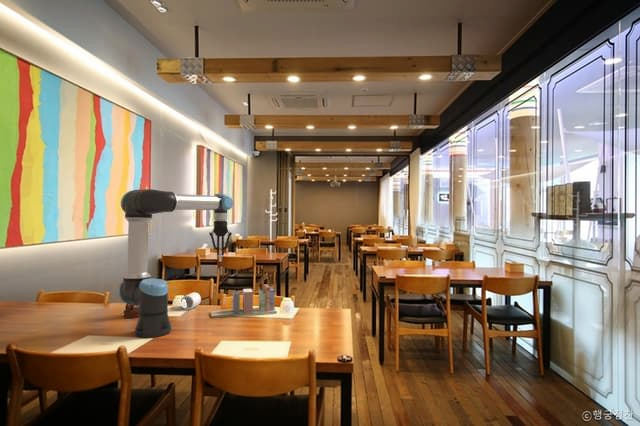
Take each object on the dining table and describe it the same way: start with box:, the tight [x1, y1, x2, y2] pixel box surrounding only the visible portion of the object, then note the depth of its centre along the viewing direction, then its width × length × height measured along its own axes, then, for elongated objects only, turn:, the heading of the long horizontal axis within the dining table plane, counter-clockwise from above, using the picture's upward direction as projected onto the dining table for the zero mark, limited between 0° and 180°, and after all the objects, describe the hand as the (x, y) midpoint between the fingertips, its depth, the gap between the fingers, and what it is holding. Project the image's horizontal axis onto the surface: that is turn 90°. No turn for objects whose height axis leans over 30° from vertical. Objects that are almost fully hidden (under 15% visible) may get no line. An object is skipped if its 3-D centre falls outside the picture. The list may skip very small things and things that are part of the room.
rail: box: [210, 284, 278, 319], centre depth 204 cm, size 11×34×14 cm, turn 106°
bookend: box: [232, 290, 241, 313], centre depth 202 cm, size 9×3×10 cm, turn 16°
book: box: [242, 288, 254, 313], centre depth 204 cm, size 9×5×11 cm, turn 16°
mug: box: [180, 291, 202, 311], centre depth 215 cm, size 12×10×8 cm
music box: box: [123, 303, 139, 320], centre depth 198 cm, size 15×11×20 cm
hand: (220, 261), depth 218 cm, fingers closed
